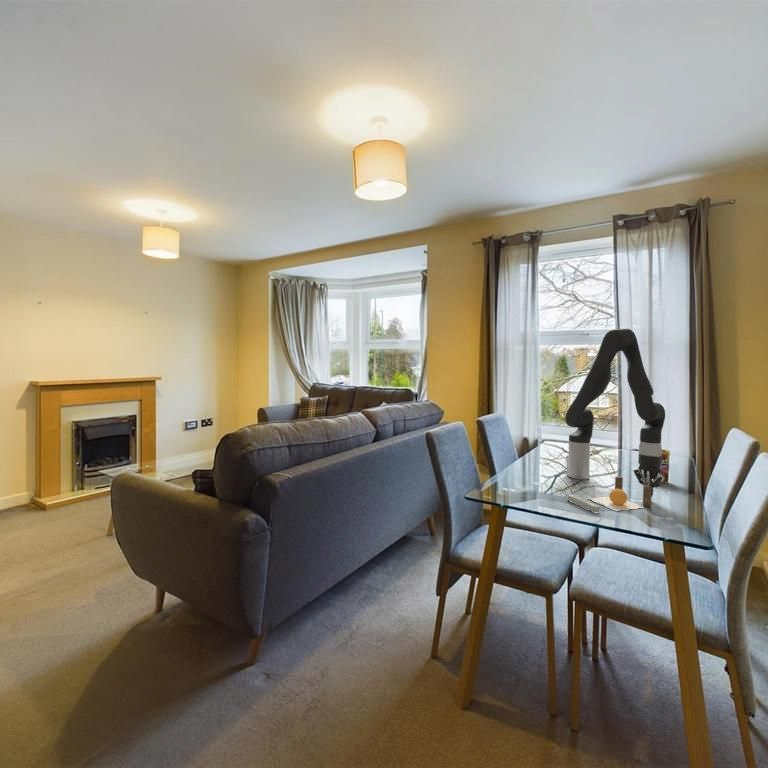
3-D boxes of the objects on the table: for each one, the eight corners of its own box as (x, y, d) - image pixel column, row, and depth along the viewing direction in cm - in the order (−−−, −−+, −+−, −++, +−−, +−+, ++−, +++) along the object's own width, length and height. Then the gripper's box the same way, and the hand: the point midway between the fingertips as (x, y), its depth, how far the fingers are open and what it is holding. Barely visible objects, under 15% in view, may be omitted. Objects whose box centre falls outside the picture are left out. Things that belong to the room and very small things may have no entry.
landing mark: (586, 499, 163) (586, 498, 163) (615, 496, 167) (615, 496, 167) (615, 511, 150) (615, 510, 150) (645, 508, 154) (645, 507, 154)
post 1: (613, 495, 168) (613, 476, 168) (618, 495, 169) (619, 476, 168) (618, 497, 165) (619, 478, 165) (623, 497, 166) (624, 477, 166)
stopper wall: (567, 501, 161) (567, 494, 161) (571, 500, 162) (572, 494, 162) (594, 513, 148) (594, 506, 148) (599, 513, 148) (599, 506, 148)
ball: (603, 498, 160) (609, 484, 160) (615, 504, 161) (621, 490, 161) (614, 503, 154) (621, 489, 154) (626, 509, 155) (633, 495, 155)
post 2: (640, 506, 155) (641, 485, 155) (646, 506, 156) (647, 485, 156) (646, 509, 153) (647, 487, 152) (652, 508, 153) (653, 487, 153)
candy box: (645, 481, 189) (646, 448, 189) (644, 479, 193) (645, 447, 192) (668, 484, 185) (669, 450, 184) (667, 481, 189) (668, 449, 188)
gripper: (628, 450, 167) (626, 492, 168) (657, 457, 155) (655, 502, 155) (642, 449, 169) (641, 490, 170) (673, 456, 157) (671, 501, 157)
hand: (648, 496), depth 163 cm, fingers closed
